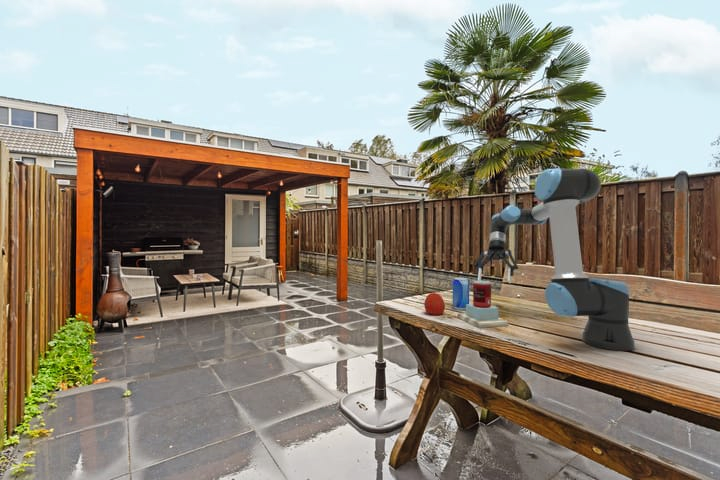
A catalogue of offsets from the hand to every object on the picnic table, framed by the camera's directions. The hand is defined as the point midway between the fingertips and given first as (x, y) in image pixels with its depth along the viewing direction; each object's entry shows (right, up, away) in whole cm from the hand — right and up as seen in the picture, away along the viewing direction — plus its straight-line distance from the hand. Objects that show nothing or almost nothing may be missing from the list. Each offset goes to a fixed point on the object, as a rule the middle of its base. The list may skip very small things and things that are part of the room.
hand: (493, 281), depth 160 cm
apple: (-27, -17, +7) cm, 32 cm away
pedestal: (-9, -15, -8) cm, 19 cm away
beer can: (-10, -17, +17) cm, 26 cm away
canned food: (-8, -10, -8) cm, 16 cm away
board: (-9, -17, -8) cm, 21 cm away
